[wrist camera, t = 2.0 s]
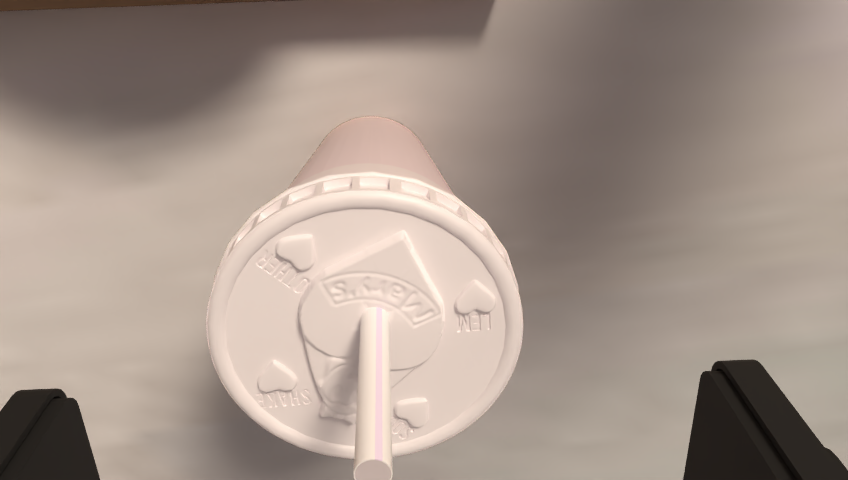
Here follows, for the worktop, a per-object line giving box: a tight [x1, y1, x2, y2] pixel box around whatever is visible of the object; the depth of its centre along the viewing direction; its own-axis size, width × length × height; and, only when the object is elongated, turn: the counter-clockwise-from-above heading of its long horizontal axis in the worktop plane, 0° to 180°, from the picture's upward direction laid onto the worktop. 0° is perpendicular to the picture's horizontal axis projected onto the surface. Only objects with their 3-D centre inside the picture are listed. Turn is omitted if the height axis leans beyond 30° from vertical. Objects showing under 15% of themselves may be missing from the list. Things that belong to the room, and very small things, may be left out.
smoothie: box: [206, 116, 523, 480], centre depth 17 cm, size 6×6×14 cm
